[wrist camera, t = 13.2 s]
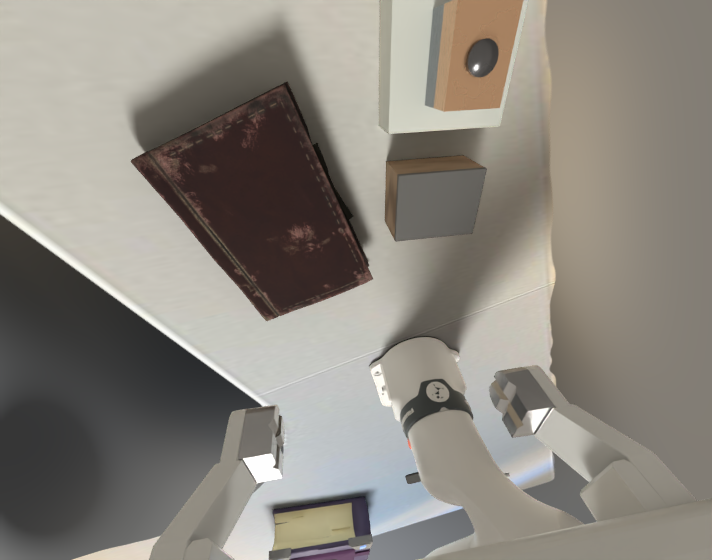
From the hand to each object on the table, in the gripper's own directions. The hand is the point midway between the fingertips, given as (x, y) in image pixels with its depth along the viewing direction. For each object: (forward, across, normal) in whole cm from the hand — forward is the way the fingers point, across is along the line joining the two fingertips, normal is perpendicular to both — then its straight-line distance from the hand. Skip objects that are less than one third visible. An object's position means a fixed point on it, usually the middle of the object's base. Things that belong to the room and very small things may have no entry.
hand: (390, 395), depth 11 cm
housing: (+26, -12, -10) cm, 30 cm away
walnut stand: (+31, -12, +4) cm, 34 cm away
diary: (+32, +8, +6) cm, 33 cm away
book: (+32, +15, +132) cm, 137 cm away
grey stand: (+31, -12, -10) cm, 35 cm away
